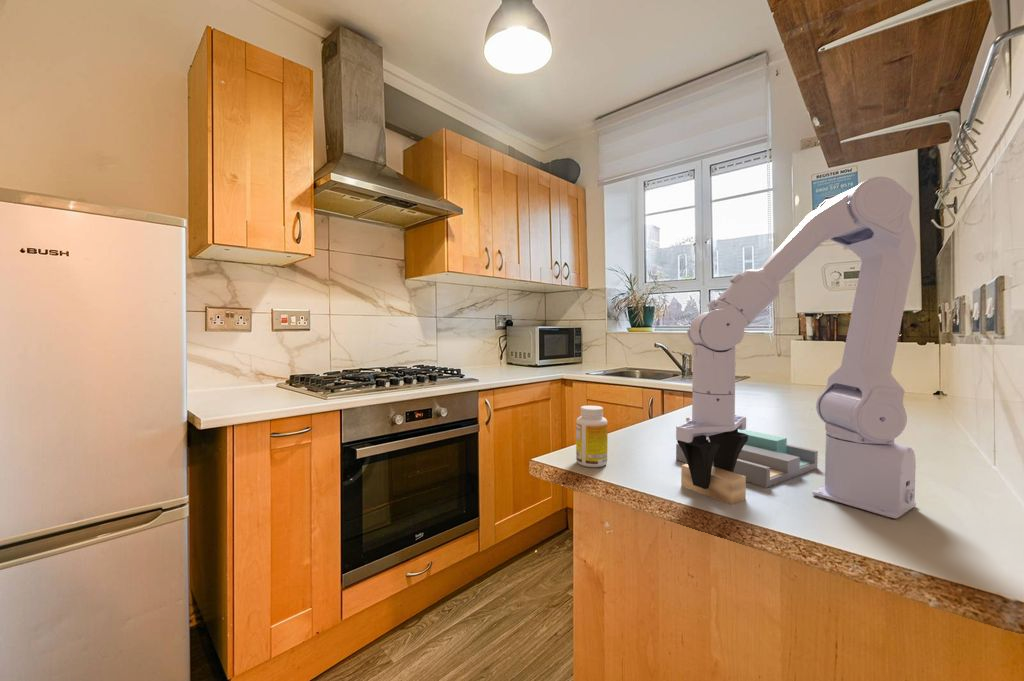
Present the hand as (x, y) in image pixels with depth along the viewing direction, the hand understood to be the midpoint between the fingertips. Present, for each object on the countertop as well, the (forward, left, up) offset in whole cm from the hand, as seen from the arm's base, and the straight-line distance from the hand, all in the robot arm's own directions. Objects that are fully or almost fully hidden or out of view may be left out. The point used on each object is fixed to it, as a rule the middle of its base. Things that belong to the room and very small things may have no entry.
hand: (712, 482), depth 62 cm
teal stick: (+5, -22, 0) cm, 22 cm away
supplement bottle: (+20, +6, -2) cm, 20 cm away
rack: (+4, -17, -1) cm, 18 cm away
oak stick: (0, 0, -2) cm, 2 cm away
